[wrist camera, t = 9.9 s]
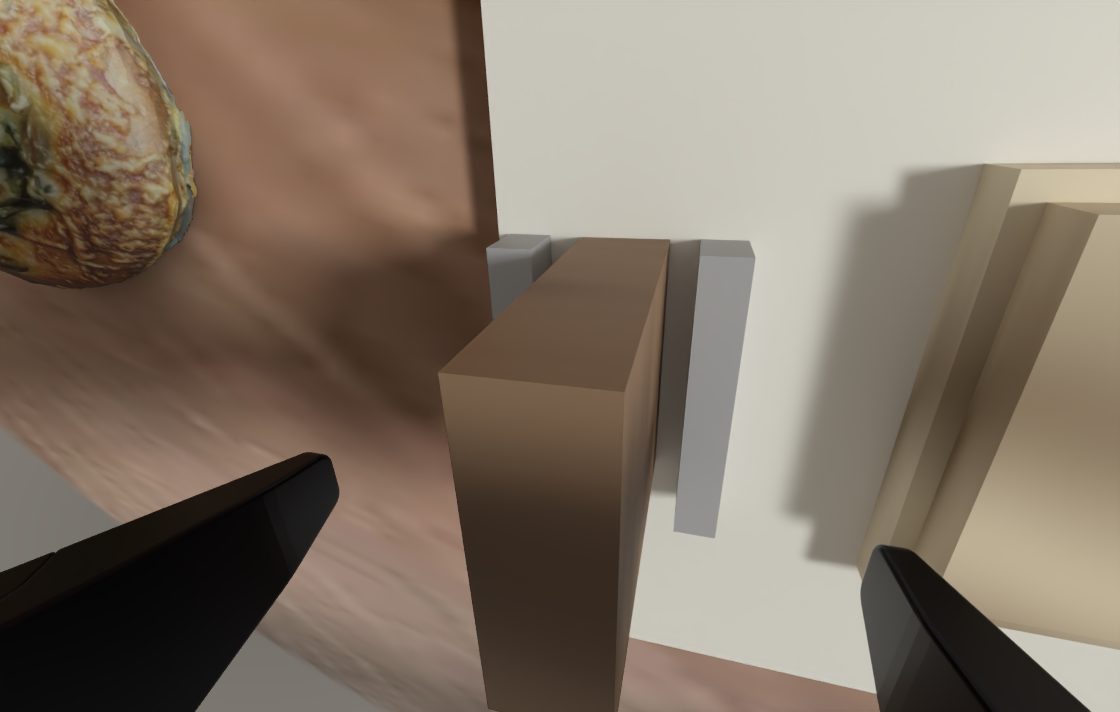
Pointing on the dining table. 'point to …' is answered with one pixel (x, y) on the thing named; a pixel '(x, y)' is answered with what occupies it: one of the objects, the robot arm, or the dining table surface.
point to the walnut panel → (560, 472)
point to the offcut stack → (1021, 410)
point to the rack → (784, 262)
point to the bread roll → (86, 147)
